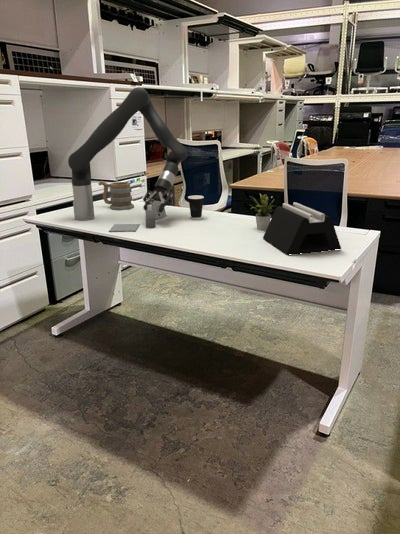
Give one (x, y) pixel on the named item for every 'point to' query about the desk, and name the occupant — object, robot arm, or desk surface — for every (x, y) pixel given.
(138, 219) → the desk surface
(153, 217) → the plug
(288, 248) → the device stand
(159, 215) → the electrical switch
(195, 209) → the dixie cup
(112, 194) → the tankard
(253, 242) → the desk surface
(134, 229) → the mat
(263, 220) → the house plant
